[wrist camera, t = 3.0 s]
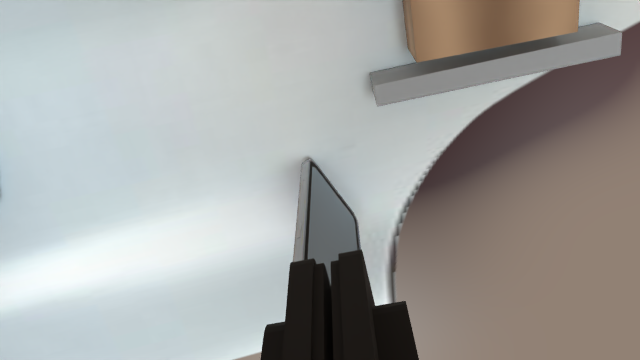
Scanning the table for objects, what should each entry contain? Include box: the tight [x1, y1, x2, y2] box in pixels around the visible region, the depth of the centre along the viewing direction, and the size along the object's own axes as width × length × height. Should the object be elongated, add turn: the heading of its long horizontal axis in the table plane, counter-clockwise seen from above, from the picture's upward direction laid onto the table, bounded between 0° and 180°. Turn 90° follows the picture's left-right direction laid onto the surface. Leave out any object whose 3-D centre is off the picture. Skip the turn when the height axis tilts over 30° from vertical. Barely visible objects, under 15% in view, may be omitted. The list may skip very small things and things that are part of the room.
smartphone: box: [293, 159, 361, 284], centre depth 34 cm, size 7×1×15 cm, turn 34°
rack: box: [370, 23, 622, 106], centre depth 32 cm, size 16×9×3 cm, turn 103°
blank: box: [403, 0, 580, 63], centre depth 31 cm, size 10×4×4 cm, turn 101°
